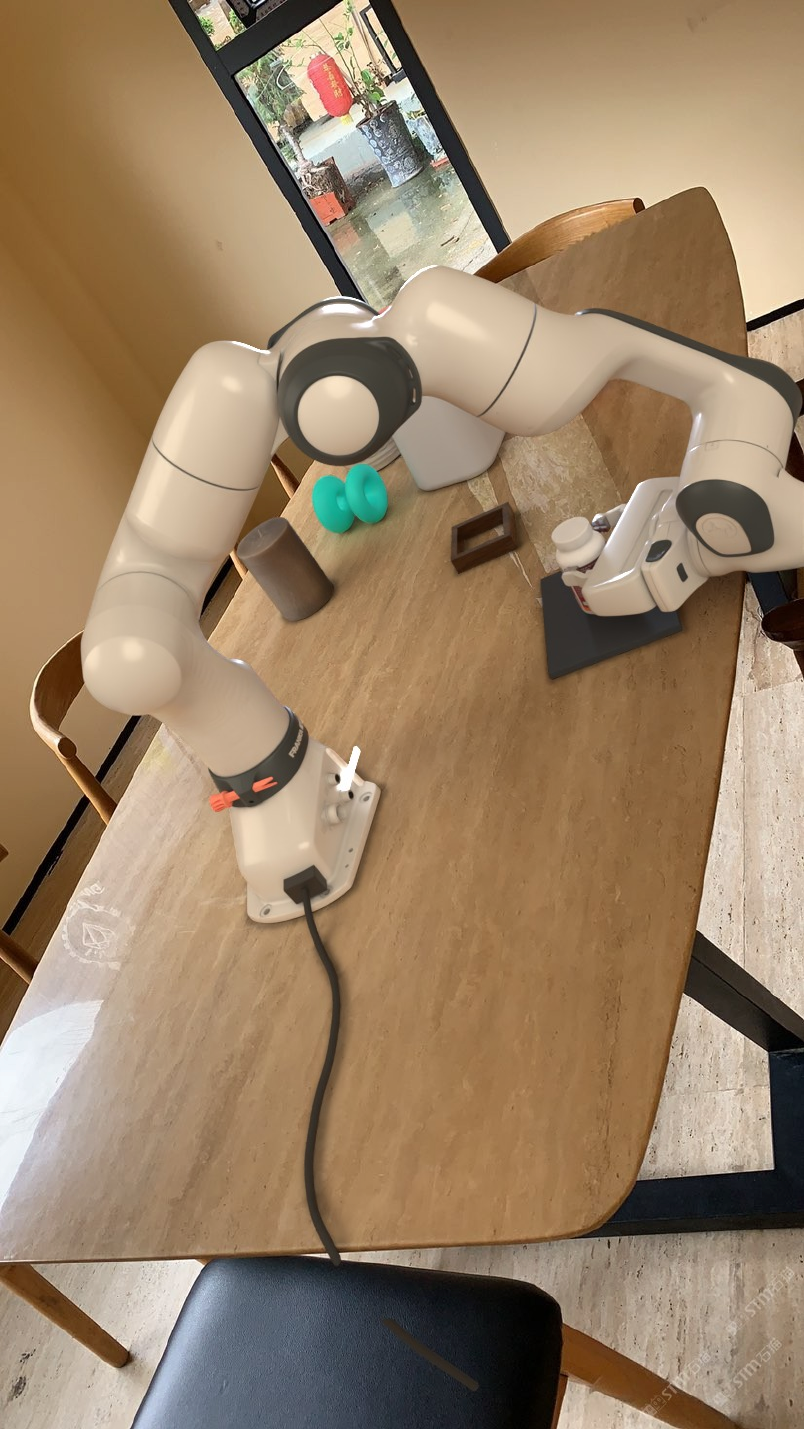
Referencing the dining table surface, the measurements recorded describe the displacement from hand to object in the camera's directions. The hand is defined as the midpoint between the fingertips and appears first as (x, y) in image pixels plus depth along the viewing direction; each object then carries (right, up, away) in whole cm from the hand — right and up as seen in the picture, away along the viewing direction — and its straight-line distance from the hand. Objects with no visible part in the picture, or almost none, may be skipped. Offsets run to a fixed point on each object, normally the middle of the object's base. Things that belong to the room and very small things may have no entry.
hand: (580, 549), depth 123 cm
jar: (-25, +29, +73) cm, 83 cm away
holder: (-9, +6, +30) cm, 32 cm away
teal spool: (-27, +14, +56) cm, 64 cm away
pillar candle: (-36, -1, +46) cm, 58 cm away
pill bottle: (+4, -6, +4) cm, 8 cm away
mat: (+4, -6, +5) cm, 9 cm away
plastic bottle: (-11, +23, +53) cm, 59 cm away
